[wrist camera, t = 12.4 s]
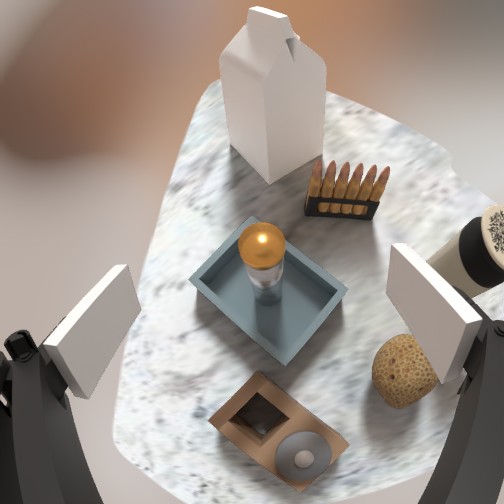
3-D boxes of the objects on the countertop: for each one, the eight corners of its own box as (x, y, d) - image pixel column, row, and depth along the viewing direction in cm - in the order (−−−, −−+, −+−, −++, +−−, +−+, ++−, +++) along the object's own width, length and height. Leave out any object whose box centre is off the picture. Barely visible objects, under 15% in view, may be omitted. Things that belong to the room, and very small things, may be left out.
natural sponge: (401, 325, 35) (436, 310, 26) (428, 376, 32) (467, 375, 22) (348, 360, 34) (372, 357, 25) (377, 413, 31) (407, 426, 21)
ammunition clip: (304, 215, 43) (311, 165, 32) (304, 205, 43) (310, 153, 32) (372, 220, 41) (397, 173, 30) (370, 209, 42) (394, 161, 31)
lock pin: (288, 291, 38) (295, 240, 23) (269, 312, 37) (263, 275, 22) (266, 273, 39) (259, 214, 24) (247, 294, 38) (228, 245, 23)
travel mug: (405, 270, 38) (469, 209, 21) (442, 256, 38) (508, 197, 21) (422, 320, 35) (502, 284, 18) (460, 302, 35) (537, 261, 18)
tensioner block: (339, 433, 30) (354, 449, 23) (297, 474, 28) (301, 499, 21) (259, 370, 35) (254, 372, 27) (218, 412, 33) (203, 423, 25)
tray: (341, 297, 37) (348, 289, 33) (284, 366, 35) (285, 366, 31) (254, 229, 42) (251, 214, 38) (197, 288, 40) (188, 279, 36)
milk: (230, 143, 50) (201, 14, 26) (280, 118, 51) (274, -4, 27) (269, 184, 45) (257, 35, 21) (322, 153, 47) (338, 17, 23)
